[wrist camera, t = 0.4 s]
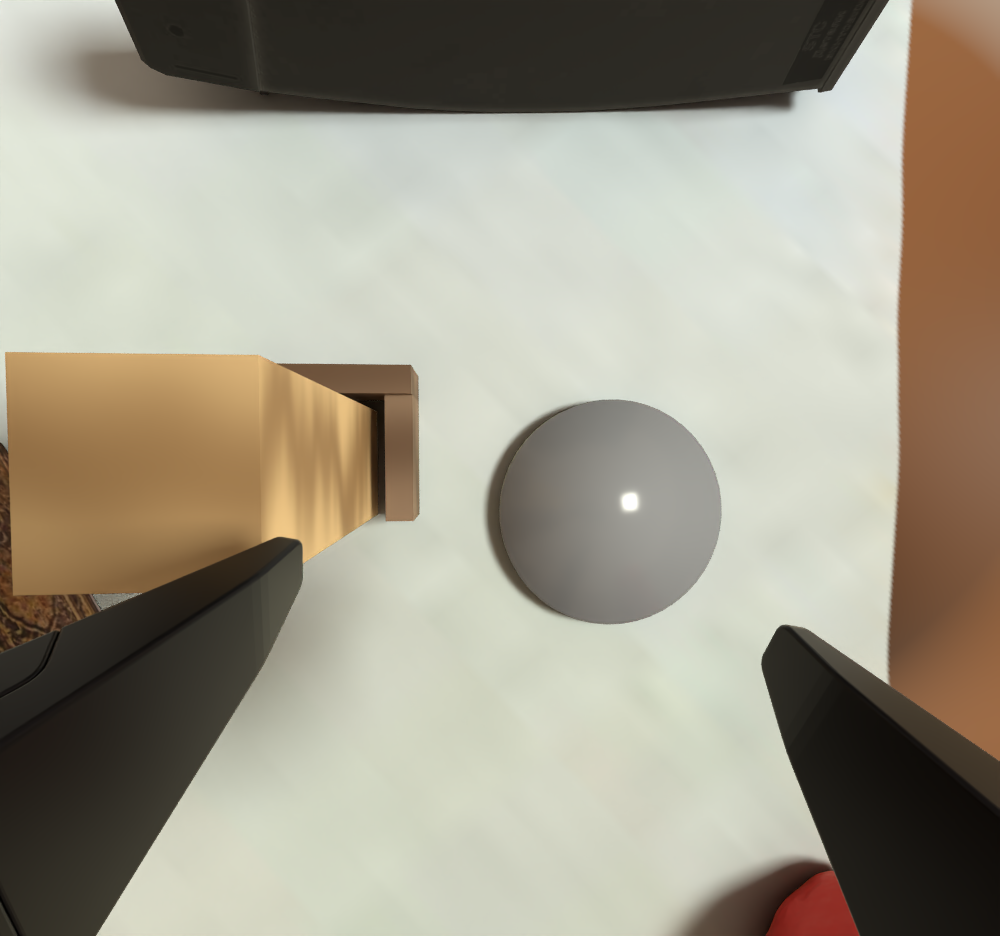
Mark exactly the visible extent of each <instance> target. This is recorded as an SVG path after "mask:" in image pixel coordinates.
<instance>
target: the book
mask: <svg viewBox="0 0 1000 936" xmlns="http://www.w3.org/2000/svg"><path fill="white" fill-rule="evenodd" d="M100 611H101V609H100V607H99V606H98V604H97V602H96V600H95V599H94V597H93V595H92V594H63V595H16V596H13V580H12V549H11V518H10V487H9V456H8V452H7V450H6V449H5V447H4V446H3V445H2V444H1V443H0V653H1V652H4V651H6V650H8V649H11V648H13V647H16V646H18V645H21V644H23V643H26V642H28V641H30V640H33V639H35V638H38V637H40V636H42V635H45V634H47V633H49V632H52V631H54V630H58V631H59V632H60V630H61V628H62V627H64V626H66V625H69V624H71V623H73V622H76V621H78V620H80V619H83V618H85V617H88V616H90V615H92V614H95V613H97V612H100Z"/></svg>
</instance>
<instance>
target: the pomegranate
mask: <svg viewBox="0 0 1000 936" xmlns="http://www.w3.org/2000/svg"><path fill="white" fill-rule="evenodd" d="M766 936H859V933H858V931H857V928H856V926H855V923H854V921H853V918H852V916H851V913H850V911H849V908H848V906H847V903H846V901H845V898H844V896H843V893H842V891H841V888H840V886H839V883H838V881H837V878H836V876H835V873H834V871H825V872H821V873H818V874H816V875H814V876H813V877H811V878H810V879H809V880H807V881H806V882H805V883H804V884H803V885H802V886H801V887H800V888H798V889H797V890H795V891H794V892H793V893H792V894H791V895H790V896H788V897H787V898H786V899H785V900H784V901H783V903H782V904H781V905H780V907H779V908H778V910H777V911H776V913H775V916H774V918H773V921H772V923H771V926H770V928H769V930H768V932H767V934H766Z"/></svg>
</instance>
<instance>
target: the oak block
mask: <svg viewBox="0 0 1000 936" xmlns="http://www.w3.org/2000/svg"><path fill="white" fill-rule="evenodd" d="M5 362H6V393H7V424H8V456H9V487H10V518H11V549H12V580H13V596H16V595H63V594H109V593H145V592H147V591H149V590H152V589H154V588H157V587H159V586H161V585H164V584H166V583H168V582H171V581H173V580H176V579H178V578H180V577H183V576H185V575H187V574H190V573H192V572H195V571H197V570H199V569H202V568H204V567H206V566H209V565H211V564H214V563H216V562H218V561H221V560H223V559H225V558H228V557H230V556H233V555H235V554H237V553H240V552H242V551H244V550H247V549H249V548H252V547H254V546H256V545H259V544H261V543H263V542H266V541H268V540H271V539H273V538H276V537H287V538H292V539H298V540H300V541H301V542H302V546H303V563H305V562H306V561H308V560H309V559H311V558H312V557H314V556H315V555H317V554H318V553H320V552H321V551H323V550H324V549H326V548H327V547H329V546H330V545H332V544H333V543H335V542H336V541H338V540H339V539H341V538H343V537H344V536H346V535H347V534H349V533H350V532H352V531H353V530H355V529H356V528H358V527H359V526H361V525H362V524H364V523H365V522H367V521H368V520H370V519H371V518H373V517H374V516H376V515H378V454H377V411H375V410H373V409H371V408H369V407H366V406H364V405H362V404H360V403H358V402H356V401H354V400H352V399H350V398H348V397H345V396H343V395H341V394H339V393H337V392H335V391H333V390H331V389H329V388H327V387H324V386H322V385H320V384H318V383H316V382H314V381H312V380H310V379H308V378H306V377H303V376H301V375H299V374H297V373H295V372H293V371H291V370H289V369H287V368H284V367H282V366H280V365H278V364H276V363H274V362H272V361H270V360H268V359H266V358H263V357H261V356H259V355H207V354H117V353H26V352H5Z"/></svg>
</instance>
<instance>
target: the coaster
mask: <svg viewBox="0 0 1000 936" xmlns="http://www.w3.org/2000/svg"><path fill="white" fill-rule="evenodd" d="M499 520H500V528H501V534H502V538H503V542H504V545H505V548H506V551H507V554H508V556H509V558H510V560H511V562H512V565H513V567H514V568H515V570H516V572H517V573H518V575H519V576H520V578H521V579H522V581H523V582H524V583H525V584H526V586H527V587H528V588H529V589H530V590H531V591H532V592H533V593H534V594H535V595H536V596H537V597H538V598H539V599H540V600H542V601H543V602H544V603H546V604H547V605H549V606H550V607H551V608H553V609H555V610H557V611H559V612H560V613H562V614H564V615H567V616H569V617H572V618H575V619H578V620H581V621H586V622H590V623H598V624H622V623H628V622H633V621H637V620H641V619H644V618H647V617H650V616H652V615H654V614H656V613H658V612H660V611H663V610H664V609H666V608H667V607H669V606H670V605H672V604H673V603H675V602H676V601H677V600H679V599H680V598H681V597H682V596H683V595H685V594H686V593H687V592H688V591H689V589H690V588H691V587H692V586H693V585H694V584H695V583H696V582H697V580H698V579H699V577H700V576H701V575H702V573H703V572H704V570H705V568H706V567H707V565H708V563H709V561H710V559H711V557H712V554H713V552H714V549H715V547H716V544H717V540H718V535H719V531H720V524H721V497H720V489H719V485H718V481H717V477H716V474H715V471H714V469H713V466H712V464H711V462H710V460H709V458H708V456H707V454H706V453H705V451H704V449H703V448H702V446H701V445H700V444H699V442H698V441H697V440H696V438H695V437H694V436H693V435H692V434H691V433H690V432H689V431H688V430H687V429H686V428H685V427H684V426H683V425H681V424H680V423H679V422H678V421H676V420H675V419H674V418H672V417H671V416H669V415H667V414H665V413H664V412H662V411H660V410H658V409H655V408H653V407H650V406H648V405H645V404H641V403H637V402H633V401H625V400H599V401H593V402H588V403H584V404H581V405H577V406H574V407H572V408H570V409H567V410H565V411H563V412H561V413H558V414H557V415H555V416H553V417H552V418H550V419H549V420H547V421H545V422H544V423H543V424H542V425H540V426H539V427H538V428H537V429H536V430H534V431H533V432H532V434H531V435H530V436H529V437H528V438H527V439H526V440H525V441H524V442H523V444H522V445H521V447H520V448H519V449H518V451H517V452H516V454H515V456H514V457H513V459H512V461H511V463H510V465H509V467H508V470H507V472H506V475H505V478H504V481H503V485H502V490H501V495H500V504H499Z"/></svg>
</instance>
